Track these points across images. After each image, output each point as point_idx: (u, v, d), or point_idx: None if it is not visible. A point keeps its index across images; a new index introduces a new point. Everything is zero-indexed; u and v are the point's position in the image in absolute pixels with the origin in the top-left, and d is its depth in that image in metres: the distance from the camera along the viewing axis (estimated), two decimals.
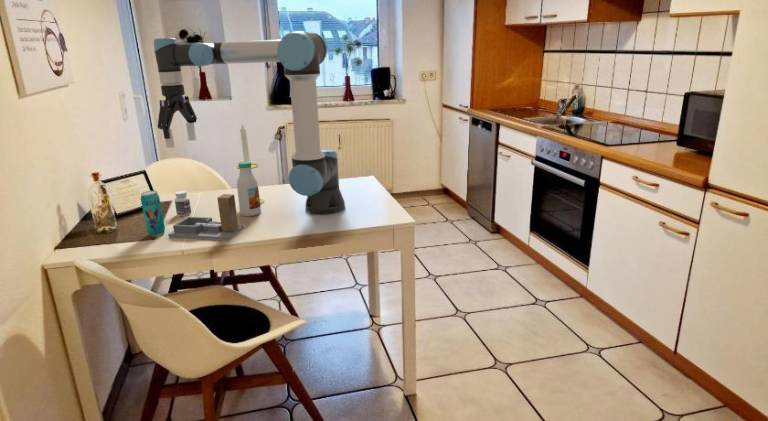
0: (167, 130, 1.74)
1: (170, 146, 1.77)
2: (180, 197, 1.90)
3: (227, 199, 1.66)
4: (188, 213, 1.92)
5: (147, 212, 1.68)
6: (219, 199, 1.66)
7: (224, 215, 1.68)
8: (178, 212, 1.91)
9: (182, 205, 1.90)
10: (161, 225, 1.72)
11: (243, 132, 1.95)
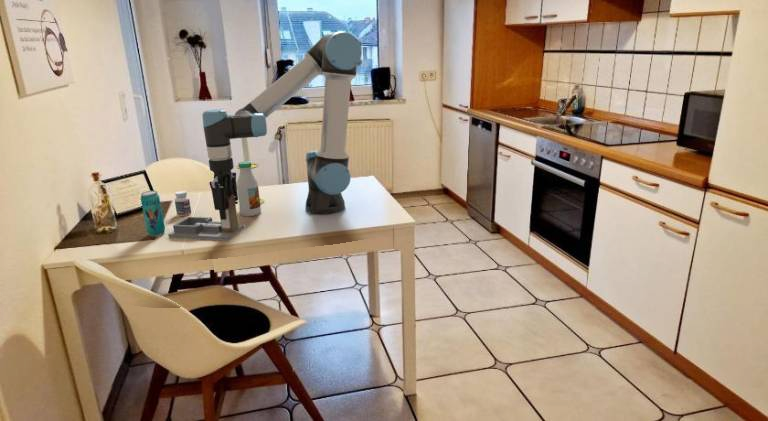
0: (224, 211, 1.66)
1: (226, 226, 1.68)
2: (180, 197, 1.90)
3: (227, 199, 1.66)
4: (188, 213, 1.92)
5: (147, 212, 1.68)
6: None
7: None
8: (178, 212, 1.91)
9: (182, 205, 1.90)
10: (161, 225, 1.72)
11: None
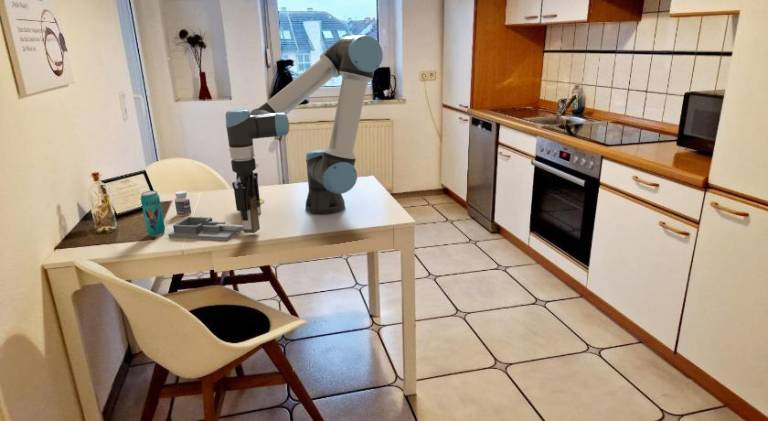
0: (246, 212, 1.64)
1: (248, 228, 1.66)
2: (180, 197, 1.90)
3: (249, 200, 1.64)
4: (188, 213, 1.92)
5: (147, 212, 1.68)
6: None
7: None
8: (178, 212, 1.91)
9: (182, 205, 1.90)
10: (161, 225, 1.72)
11: None
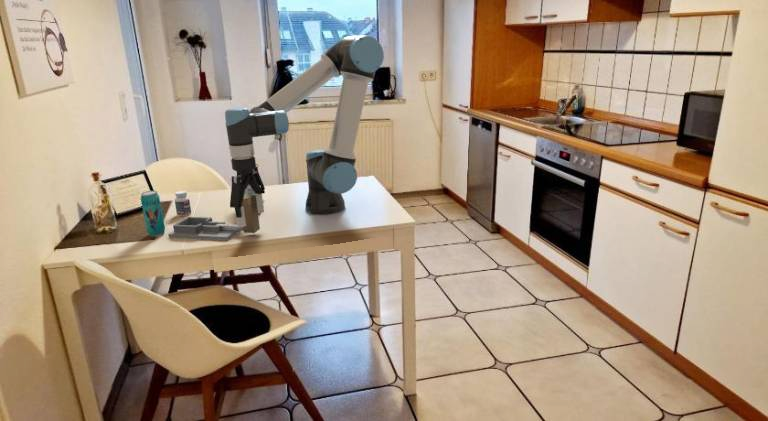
0: (239, 208, 1.59)
1: (242, 225, 1.62)
2: (180, 197, 1.90)
3: (249, 200, 1.64)
4: (188, 213, 1.92)
5: (147, 212, 1.68)
6: None
7: (246, 216, 1.66)
8: (178, 212, 1.91)
9: (182, 205, 1.90)
10: (161, 225, 1.72)
11: None
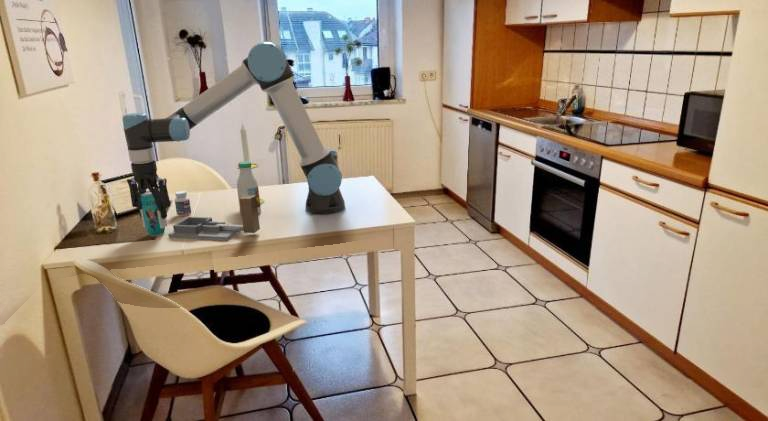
0: (140, 209, 1.71)
1: None
2: (180, 197, 1.90)
3: (249, 200, 1.64)
4: (188, 213, 1.92)
5: (147, 212, 1.68)
6: (241, 200, 1.65)
7: (246, 216, 1.66)
8: (178, 212, 1.91)
9: (182, 205, 1.90)
10: None
11: (243, 132, 1.95)
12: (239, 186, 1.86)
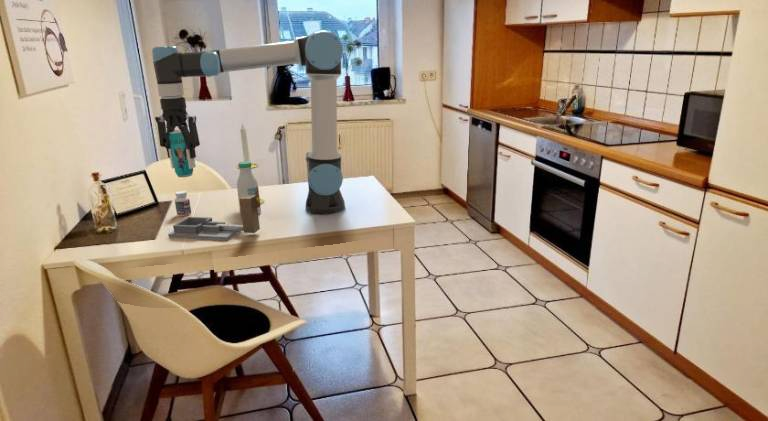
0: (168, 149, 1.66)
1: None
2: (180, 197, 1.90)
3: (249, 200, 1.64)
4: (188, 213, 1.92)
5: (176, 151, 1.63)
6: (241, 200, 1.65)
7: (246, 216, 1.66)
8: (178, 212, 1.91)
9: (182, 205, 1.90)
10: None
11: (243, 132, 1.95)
12: (239, 186, 1.86)
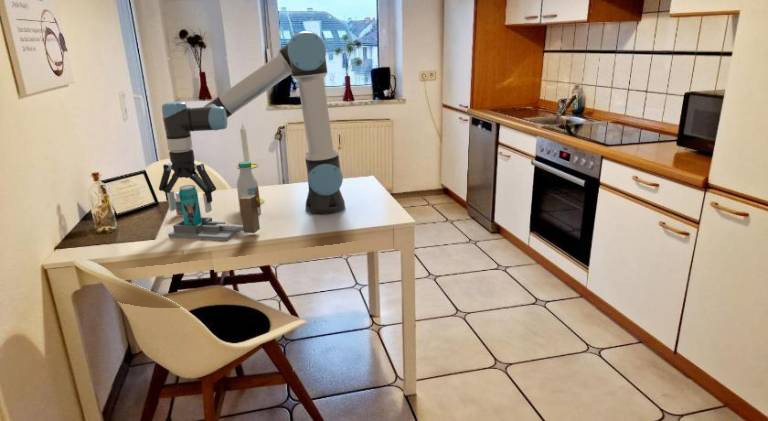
0: (166, 193, 1.72)
1: None
2: None
3: (249, 200, 1.64)
4: None
5: (186, 207, 1.69)
6: (241, 200, 1.65)
7: (246, 216, 1.66)
8: (178, 212, 1.91)
9: None
10: (199, 219, 1.73)
11: (243, 132, 1.95)
12: (239, 186, 1.86)
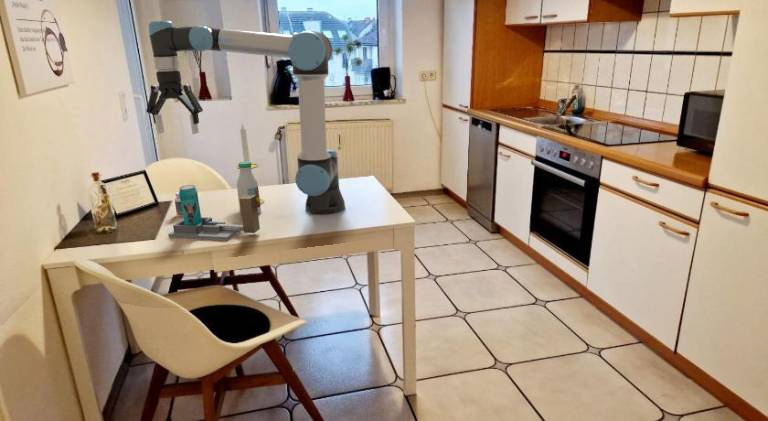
0: (154, 115, 1.74)
1: None
2: None
3: (249, 200, 1.64)
4: None
5: (186, 207, 1.69)
6: (241, 200, 1.65)
7: (246, 216, 1.66)
8: (178, 212, 1.91)
9: None
10: (199, 219, 1.73)
11: (243, 132, 1.95)
12: (239, 186, 1.86)
